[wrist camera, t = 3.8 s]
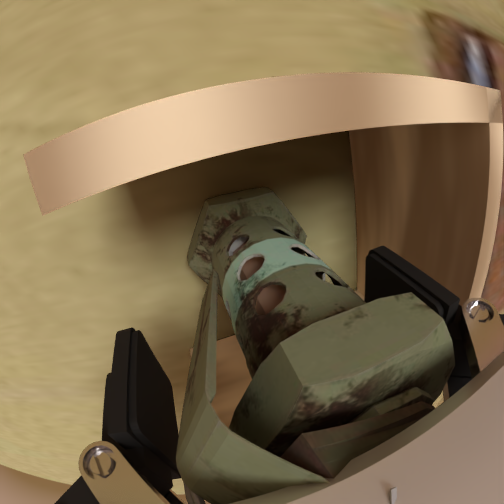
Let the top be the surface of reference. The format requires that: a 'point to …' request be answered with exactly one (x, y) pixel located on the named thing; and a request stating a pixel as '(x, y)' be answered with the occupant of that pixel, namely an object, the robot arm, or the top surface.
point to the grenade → (296, 359)
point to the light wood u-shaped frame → (309, 124)
